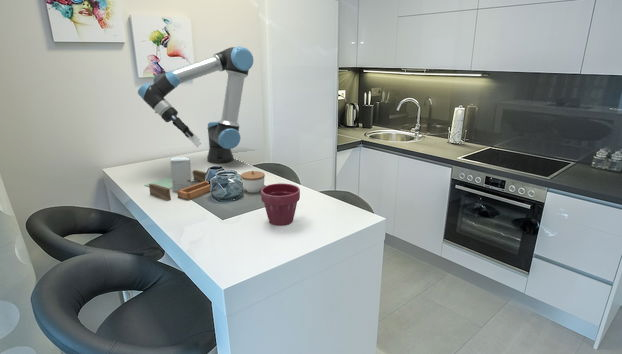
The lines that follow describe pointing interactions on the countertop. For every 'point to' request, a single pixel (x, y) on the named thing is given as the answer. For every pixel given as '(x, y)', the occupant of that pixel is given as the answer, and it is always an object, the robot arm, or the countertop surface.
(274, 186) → the plant pot
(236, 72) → the robot arm
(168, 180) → the pad
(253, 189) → the lidded jar
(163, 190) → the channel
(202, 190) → the brown rectangular tray
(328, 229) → the countertop surface
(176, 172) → the skincare box
